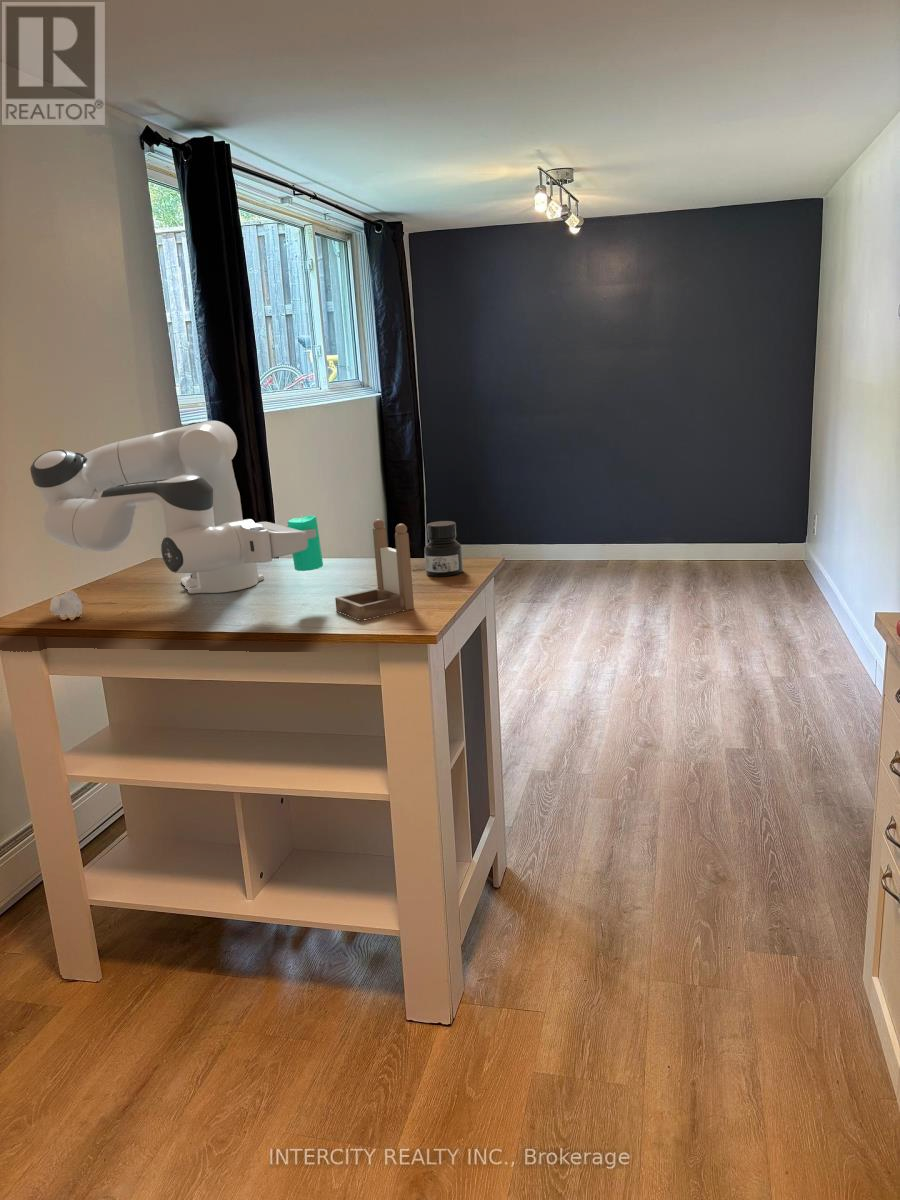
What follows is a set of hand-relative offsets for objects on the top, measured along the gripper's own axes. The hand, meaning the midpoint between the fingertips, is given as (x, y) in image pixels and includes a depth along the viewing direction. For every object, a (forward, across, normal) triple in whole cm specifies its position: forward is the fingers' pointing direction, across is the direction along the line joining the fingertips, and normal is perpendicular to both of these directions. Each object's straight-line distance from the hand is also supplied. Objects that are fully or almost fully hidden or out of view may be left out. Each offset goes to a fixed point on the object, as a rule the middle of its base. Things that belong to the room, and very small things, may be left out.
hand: (307, 530), depth 197 cm
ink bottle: (+37, -5, -17) cm, 41 cm away
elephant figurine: (-43, -34, -17) cm, 57 cm away
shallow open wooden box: (+7, +11, -17) cm, 21 cm away
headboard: (+13, +12, -17) cm, 24 cm away
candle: (-1, 0, -8) cm, 8 cm away
